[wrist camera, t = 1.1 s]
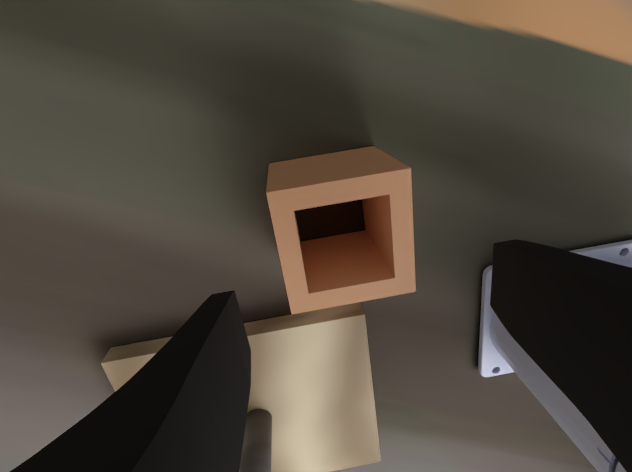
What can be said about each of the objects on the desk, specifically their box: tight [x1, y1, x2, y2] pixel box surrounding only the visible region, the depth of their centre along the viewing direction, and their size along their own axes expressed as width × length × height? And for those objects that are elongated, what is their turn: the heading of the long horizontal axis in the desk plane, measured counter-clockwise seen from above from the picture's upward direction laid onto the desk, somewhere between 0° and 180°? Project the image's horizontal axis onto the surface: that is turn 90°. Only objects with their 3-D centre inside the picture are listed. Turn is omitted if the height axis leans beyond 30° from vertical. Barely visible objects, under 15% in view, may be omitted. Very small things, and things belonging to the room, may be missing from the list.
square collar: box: [266, 146, 416, 314], centre depth 15 cm, size 5×5×5 cm
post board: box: [101, 302, 381, 472], centre depth 19 cm, size 14×12×6 cm
